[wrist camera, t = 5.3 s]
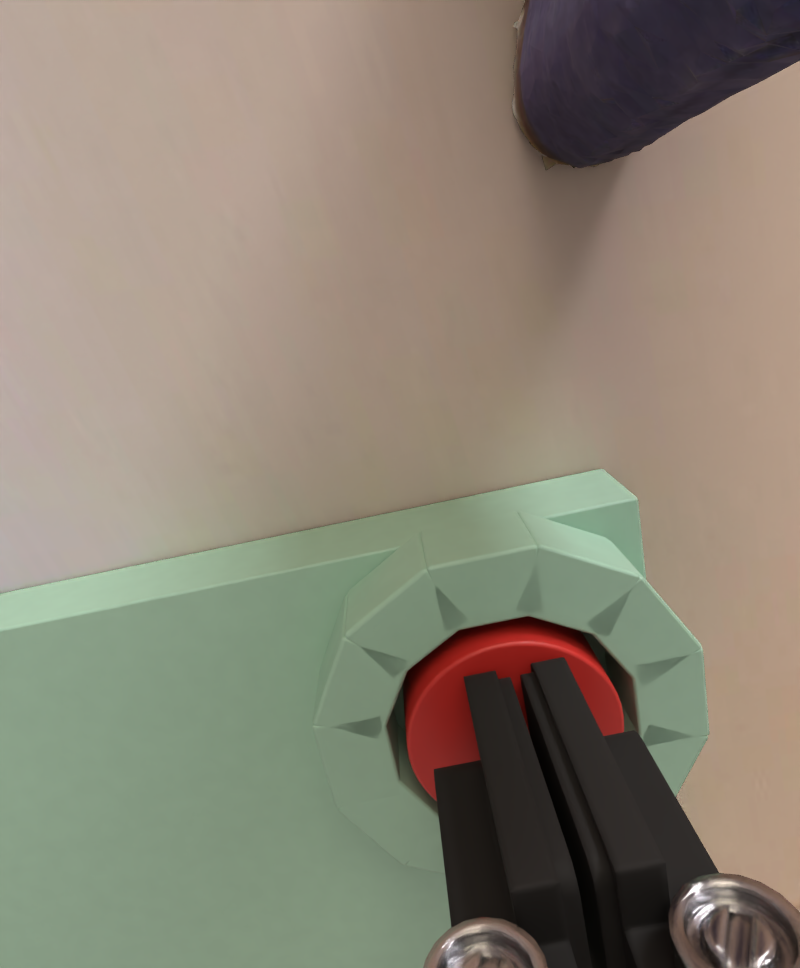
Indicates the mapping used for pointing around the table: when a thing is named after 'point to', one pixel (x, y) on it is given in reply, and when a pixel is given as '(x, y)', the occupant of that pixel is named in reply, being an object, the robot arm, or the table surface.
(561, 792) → the robot arm
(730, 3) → the flask
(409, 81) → the table surface
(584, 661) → the button
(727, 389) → the table surface
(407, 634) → the green button panel
